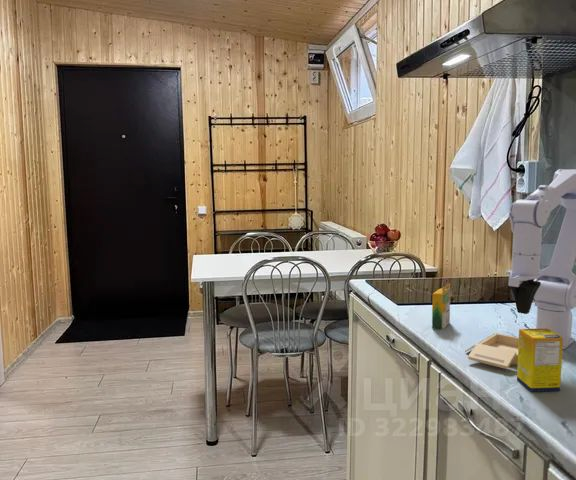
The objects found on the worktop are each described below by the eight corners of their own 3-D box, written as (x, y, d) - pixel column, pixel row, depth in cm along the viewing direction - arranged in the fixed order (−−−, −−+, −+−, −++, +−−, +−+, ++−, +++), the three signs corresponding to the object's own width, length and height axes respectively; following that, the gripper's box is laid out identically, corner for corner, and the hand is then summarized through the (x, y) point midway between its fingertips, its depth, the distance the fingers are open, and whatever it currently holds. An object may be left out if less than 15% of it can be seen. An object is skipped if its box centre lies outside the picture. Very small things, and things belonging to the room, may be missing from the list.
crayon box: (439, 321, 144) (440, 281, 143) (449, 322, 143) (451, 282, 141) (431, 328, 138) (432, 286, 137) (442, 329, 137) (443, 287, 135)
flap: (467, 356, 112) (468, 359, 113) (507, 366, 106) (507, 369, 107) (477, 343, 115) (477, 345, 116) (515, 351, 110) (516, 354, 110)
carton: (489, 338, 129) (490, 328, 129) (554, 352, 119) (554, 341, 118) (464, 353, 119) (464, 343, 118) (532, 370, 108) (533, 358, 108)
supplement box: (544, 379, 104) (547, 327, 102) (560, 391, 98) (564, 337, 96) (515, 379, 104) (518, 328, 102) (530, 392, 98) (533, 337, 96)
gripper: (519, 248, 121) (516, 303, 123) (495, 255, 110) (492, 315, 112) (551, 251, 116) (548, 308, 118) (529, 259, 106) (525, 322, 107)
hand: (523, 312), depth 115 cm, fingers closed
